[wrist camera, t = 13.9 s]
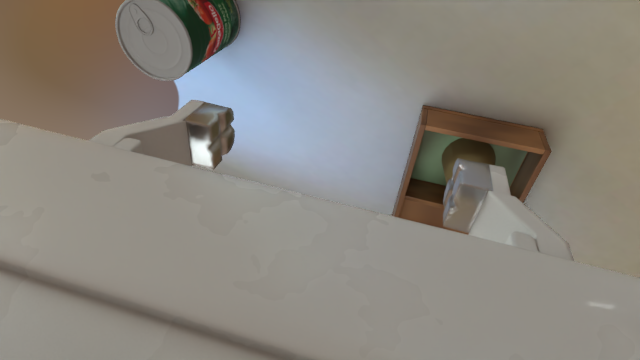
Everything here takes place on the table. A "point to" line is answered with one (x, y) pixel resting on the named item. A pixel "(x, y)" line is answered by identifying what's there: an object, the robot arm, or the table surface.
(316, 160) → the table surface
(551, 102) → the table surface
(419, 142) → the tray
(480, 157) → the olive pawn
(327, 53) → the table surface
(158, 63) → the canned tomato
